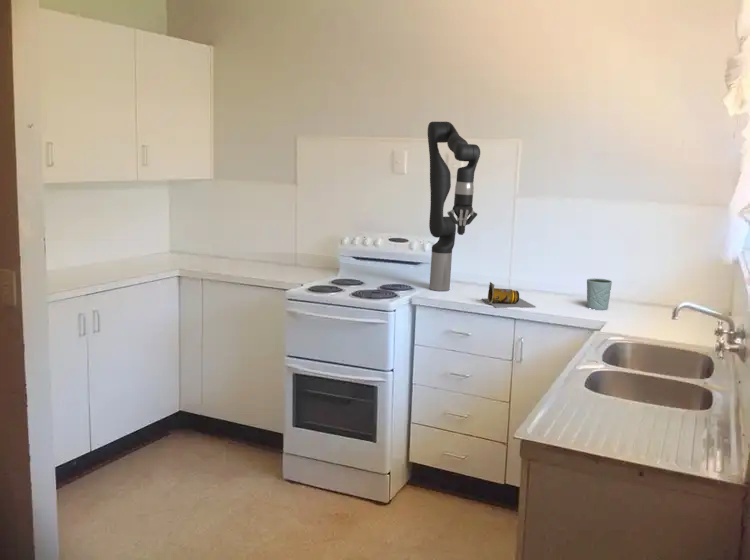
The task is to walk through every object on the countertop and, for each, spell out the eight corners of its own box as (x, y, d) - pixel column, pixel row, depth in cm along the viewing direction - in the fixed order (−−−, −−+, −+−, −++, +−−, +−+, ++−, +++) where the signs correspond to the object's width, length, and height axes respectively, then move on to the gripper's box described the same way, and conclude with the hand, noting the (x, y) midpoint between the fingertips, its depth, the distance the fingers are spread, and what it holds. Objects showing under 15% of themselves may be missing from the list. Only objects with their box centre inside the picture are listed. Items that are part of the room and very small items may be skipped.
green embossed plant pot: (610, 311, 316) (613, 283, 313) (585, 309, 318) (587, 281, 315) (607, 306, 325) (610, 279, 323) (583, 304, 327) (586, 277, 325)
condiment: (491, 304, 317) (519, 306, 318) (494, 284, 315) (521, 286, 317) (486, 300, 324) (513, 302, 326) (489, 281, 322) (516, 283, 324)
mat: (481, 299, 328) (481, 298, 328) (520, 299, 332) (520, 298, 332) (495, 307, 313) (495, 306, 313) (535, 307, 317) (535, 306, 317)
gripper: (475, 192, 318) (472, 233, 322) (445, 191, 315) (442, 232, 318) (482, 194, 311) (478, 236, 315) (452, 193, 308) (448, 235, 311)
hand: (460, 234), depth 316 cm, fingers closed
